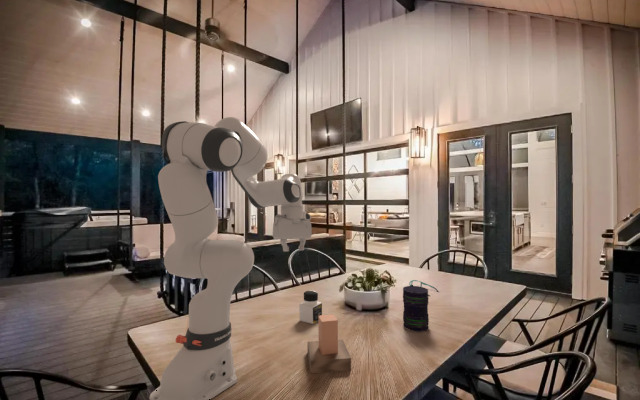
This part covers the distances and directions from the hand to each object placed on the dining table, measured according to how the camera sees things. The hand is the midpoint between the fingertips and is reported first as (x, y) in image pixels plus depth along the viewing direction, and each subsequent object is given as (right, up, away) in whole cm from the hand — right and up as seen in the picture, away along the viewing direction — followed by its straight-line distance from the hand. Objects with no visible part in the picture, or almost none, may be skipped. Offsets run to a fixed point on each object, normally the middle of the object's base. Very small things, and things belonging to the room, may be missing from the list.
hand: (294, 250), depth 112 cm
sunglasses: (+68, -33, +52) cm, 92 cm away
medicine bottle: (+6, -32, +11) cm, 34 cm away
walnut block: (+13, -31, -21) cm, 40 cm away
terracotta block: (+13, -27, -21) cm, 37 cm away
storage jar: (+49, -32, +4) cm, 58 cm away
